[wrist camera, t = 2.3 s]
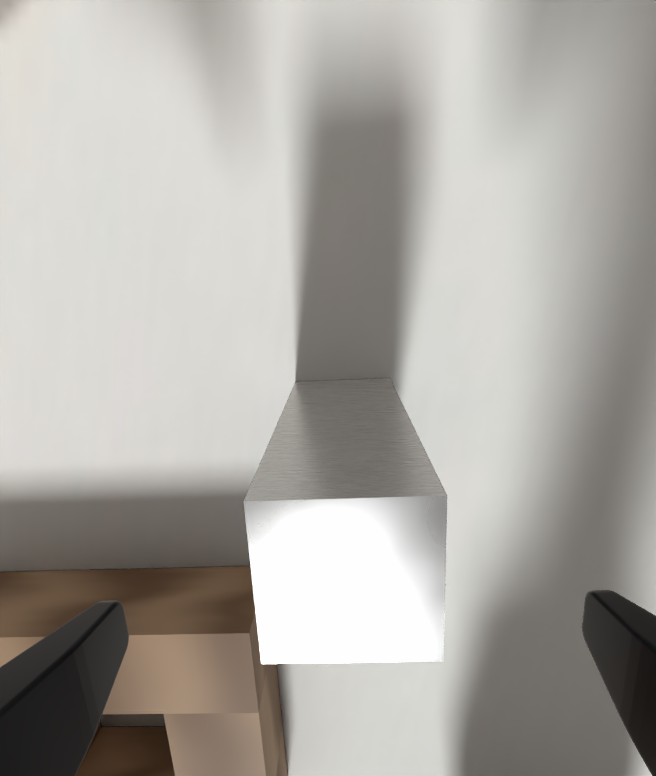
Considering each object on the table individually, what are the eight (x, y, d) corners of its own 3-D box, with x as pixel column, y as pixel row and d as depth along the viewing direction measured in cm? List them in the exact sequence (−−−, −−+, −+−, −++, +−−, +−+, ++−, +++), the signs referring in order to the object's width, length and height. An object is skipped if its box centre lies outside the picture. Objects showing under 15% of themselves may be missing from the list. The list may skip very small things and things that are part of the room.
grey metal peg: (389, 377, 18) (446, 495, 8) (390, 465, 19) (443, 661, 9) (295, 381, 18) (243, 501, 8) (301, 468, 19) (261, 663, 9)
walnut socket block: (266, 565, 20) (249, 633, 17) (288, 780, 24) (277, 877, 20) (-16, 572, 21) (-96, 639, 17) (46, 781, 25) (-9, 875, 21)
